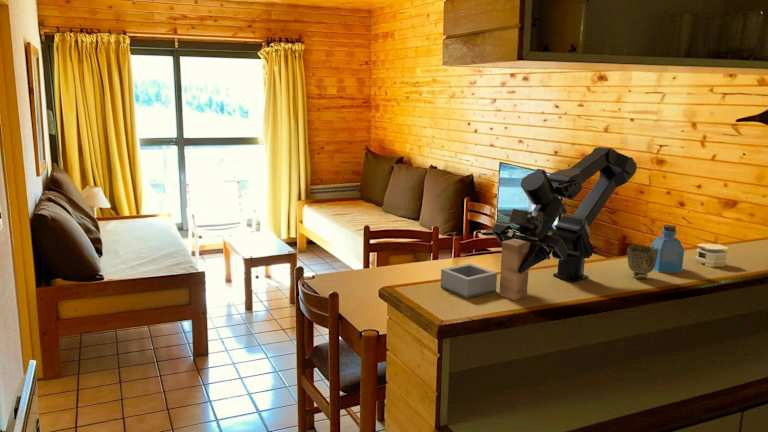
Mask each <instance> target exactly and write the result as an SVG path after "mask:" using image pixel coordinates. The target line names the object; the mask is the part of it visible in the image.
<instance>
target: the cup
mask: <svg viewBox="0 0 768 432" xmlns="http://www.w3.org/2000/svg"><path fill="white" fill-rule="evenodd" d="M626 250H627V265H628V267H629V269H630V270H631V272H632V276H633V278H635V279H637V280H638V279H639V280H646V279H648V276H649V274H650V273H651V272H652V271H654V270H655V269H654V267H655V264H656V260H657V256H658V252H659V250H658V248H656V249H654V247H652V248H651V246H650V245H647V246H646V245H643V246H641V244H638V245H635V244H632V245H628V247H627V249H626Z"/></svg>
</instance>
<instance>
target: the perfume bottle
mask: <svg viewBox="0 0 768 432" xmlns="http://www.w3.org/2000/svg"><path fill="white" fill-rule="evenodd" d="M676 229H677V226H676V225H674V224H663V228H662V230H661V231H662V232H661V234H662V235H658V236H657V237H656V238H655V239H654V240H653V241H652V243H651V246H650V249H651V248H652V247H654V249H656V248H658V250H659V252H658V256H657V260H656V264H655V267H654V269H653V270H654V271H655V272H657V271H658V272H657V273H674V272H677V273H679V274H680V273H682V272H683V264H684V256H685V248H684V246H683V245H682V242H681V241H680V239H679V238H676V235H677V230H676Z"/></svg>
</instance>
